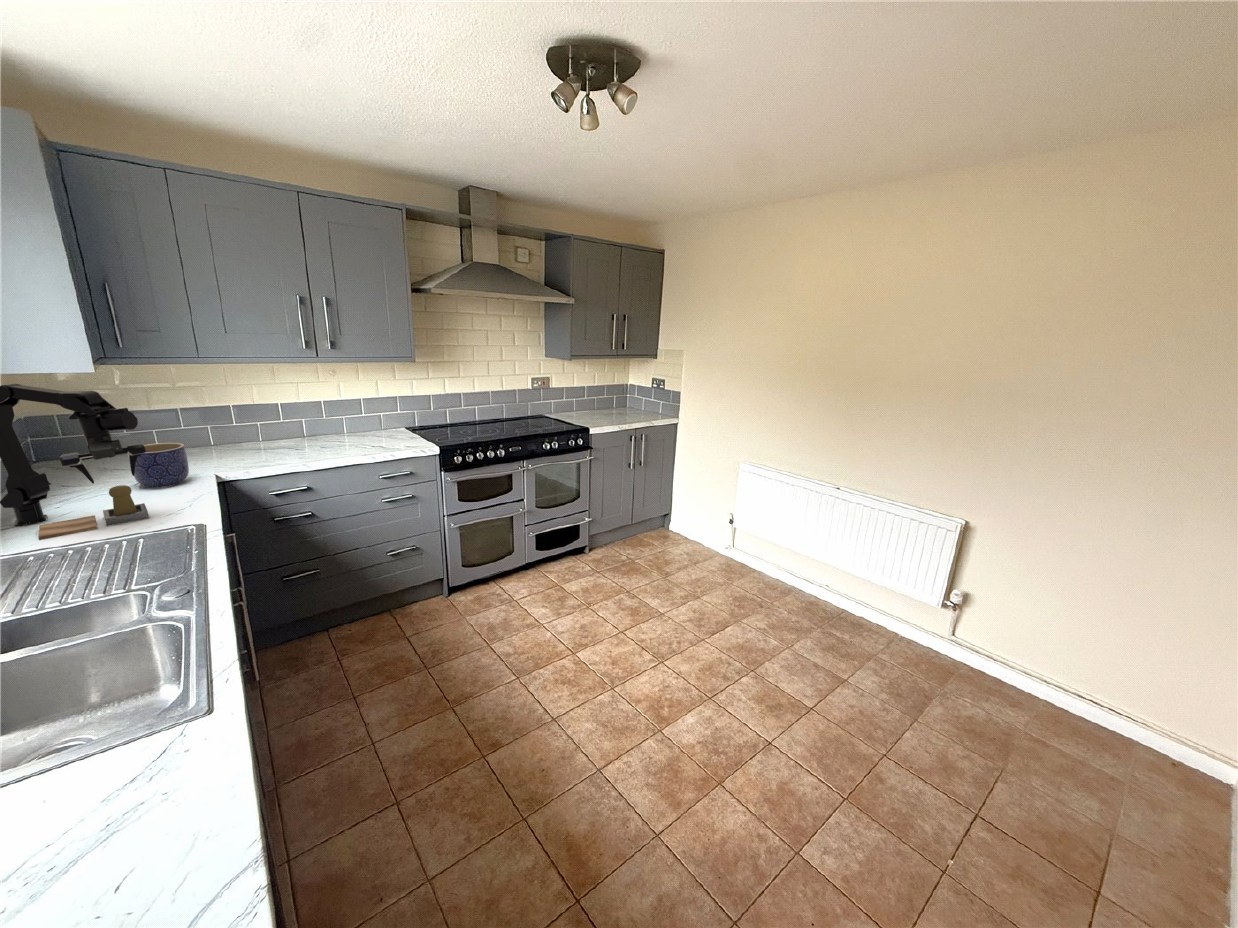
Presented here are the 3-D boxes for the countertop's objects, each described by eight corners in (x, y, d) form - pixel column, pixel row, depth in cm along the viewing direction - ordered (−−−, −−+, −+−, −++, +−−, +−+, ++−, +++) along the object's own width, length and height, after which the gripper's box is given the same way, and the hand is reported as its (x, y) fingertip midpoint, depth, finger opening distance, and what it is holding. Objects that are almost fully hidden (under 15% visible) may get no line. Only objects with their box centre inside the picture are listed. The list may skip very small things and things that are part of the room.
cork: (109, 522, 159) (100, 489, 156) (121, 515, 164) (113, 483, 161) (132, 520, 160) (124, 488, 157) (144, 513, 166) (136, 483, 163)
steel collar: (104, 517, 162) (102, 510, 161) (146, 509, 169) (144, 503, 168) (106, 526, 155) (104, 519, 155) (149, 518, 163) (147, 511, 162)
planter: (126, 492, 184) (117, 454, 180) (148, 479, 199) (139, 443, 195) (182, 488, 190) (173, 451, 186) (198, 476, 205) (191, 441, 201)
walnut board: (40, 527, 153) (39, 524, 152) (95, 518, 161) (95, 515, 161) (39, 540, 145) (38, 536, 145) (97, 529, 153) (96, 526, 153)
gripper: (50, 441, 141) (70, 492, 145) (138, 429, 154) (154, 476, 158) (52, 436, 148) (71, 485, 153) (136, 425, 161) (152, 470, 166)
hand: (113, 479), depth 157 cm, fingers open, 9 cm apart
